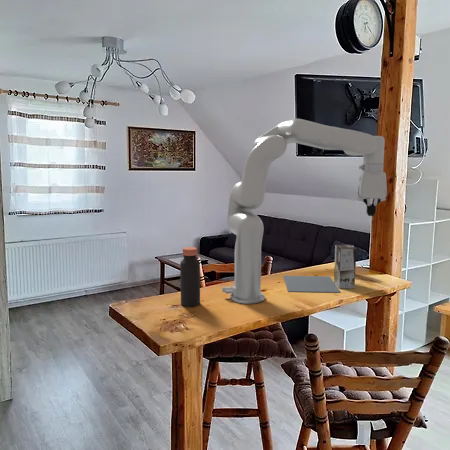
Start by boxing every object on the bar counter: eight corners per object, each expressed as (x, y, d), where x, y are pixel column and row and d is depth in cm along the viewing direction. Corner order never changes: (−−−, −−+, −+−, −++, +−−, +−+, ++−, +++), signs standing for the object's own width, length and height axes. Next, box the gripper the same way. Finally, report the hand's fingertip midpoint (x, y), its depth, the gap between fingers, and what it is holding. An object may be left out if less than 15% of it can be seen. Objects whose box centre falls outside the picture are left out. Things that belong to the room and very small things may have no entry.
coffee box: (355, 288, 167) (357, 248, 164) (338, 288, 167) (340, 248, 165) (349, 282, 176) (350, 244, 173) (333, 282, 176) (334, 244, 174)
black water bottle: (203, 302, 151) (202, 247, 148) (194, 308, 145) (194, 251, 142) (186, 299, 153) (185, 245, 150) (177, 305, 147) (176, 249, 144)
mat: (287, 291, 163) (287, 291, 163) (283, 276, 185) (283, 275, 184) (340, 292, 162) (340, 292, 162) (329, 277, 183) (329, 276, 183)
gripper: (355, 168, 161) (353, 216, 163) (395, 168, 160) (393, 217, 163) (351, 168, 168) (349, 214, 171) (389, 168, 167) (386, 214, 170)
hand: (370, 215), depth 167 cm, fingers closed
